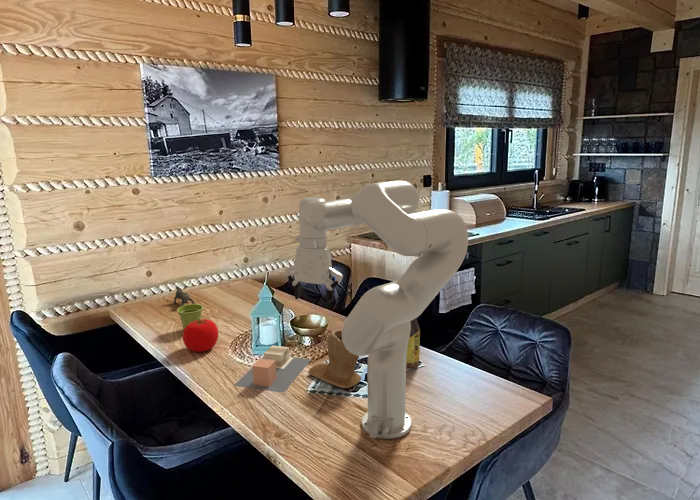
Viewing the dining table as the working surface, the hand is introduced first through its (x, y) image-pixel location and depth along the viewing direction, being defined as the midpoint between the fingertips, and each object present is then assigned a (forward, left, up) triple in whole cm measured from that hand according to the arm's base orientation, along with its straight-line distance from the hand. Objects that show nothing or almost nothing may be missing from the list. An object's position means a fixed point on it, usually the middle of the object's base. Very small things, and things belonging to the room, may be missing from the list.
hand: (313, 299), depth 142 cm
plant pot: (+26, +60, -26) cm, 71 cm away
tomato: (+12, +47, -26) cm, 55 cm away
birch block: (+7, +16, -25) cm, 30 cm away
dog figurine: (+50, +80, -26) cm, 98 cm away
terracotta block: (-6, +14, -25) cm, 29 cm away
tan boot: (+3, -6, -26) cm, 27 cm away
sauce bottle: (+18, -25, -26) cm, 40 cm away
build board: (+1, +14, -26) cm, 29 cm away
